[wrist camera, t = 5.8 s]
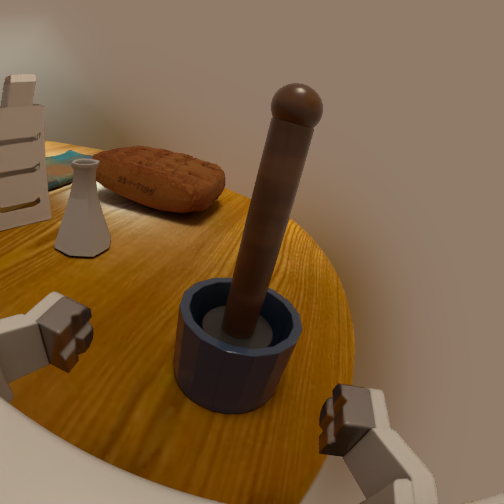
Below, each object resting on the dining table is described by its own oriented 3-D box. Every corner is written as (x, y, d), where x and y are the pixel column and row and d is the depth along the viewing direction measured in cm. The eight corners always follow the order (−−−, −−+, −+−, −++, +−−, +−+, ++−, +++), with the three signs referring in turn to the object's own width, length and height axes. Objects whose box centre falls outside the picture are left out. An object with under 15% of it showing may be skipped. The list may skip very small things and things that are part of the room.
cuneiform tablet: (78, 197, 45) (81, 150, 41) (130, 177, 60) (135, 140, 57) (197, 231, 43) (207, 176, 40) (228, 202, 59) (237, 162, 55)
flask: (97, 264, 30) (100, 172, 26) (44, 251, 29) (42, 164, 25) (119, 237, 36) (126, 159, 32) (72, 227, 35) (74, 152, 31)
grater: (33, 197, 41) (43, 77, 32) (51, 218, 36) (63, 73, 27) (-21, 209, 32) (-16, 80, 24) (-14, 234, 28) (-11, 75, 19)
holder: (293, 402, 20) (323, 345, 18) (187, 421, 17) (197, 362, 14) (253, 333, 27) (271, 276, 24) (165, 339, 23) (171, 277, 21)
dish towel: (119, 169, 64) (120, 158, 63) (47, 193, 43) (47, 179, 42) (68, 158, 66) (69, 148, 65) (-1, 178, 45) (-1, 166, 44)
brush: (268, 386, 21) (369, 102, 13) (204, 396, 19) (283, 69, 10) (245, 342, 24) (315, 95, 16) (188, 346, 22) (242, 72, 14)
